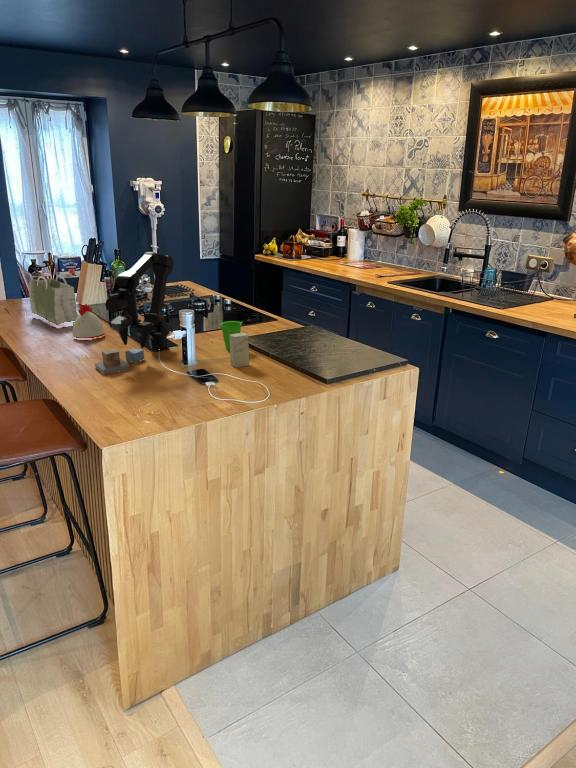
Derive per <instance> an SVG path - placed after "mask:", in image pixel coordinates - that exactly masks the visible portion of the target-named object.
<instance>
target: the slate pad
mask: <svg viewBox="0 0 576 768" xmlns="http://www.w3.org/2000/svg"><path fill="white" fill-rule="evenodd" d="M130 366H131V365H130V364H129V363H128V362H127V361H125V360H123V358H121V357H120V365H115V366H110V367H107V366H106V365H104V364H103V361H99V362H95V363H94V368H95V367H96V368H97V369H98V370H99V371H100V372H99V371H98V370H97V369H96V368H95V369H96V370H97V371H98V372H99V373H100V374H102V373H103V374H107V375H109V374H108V373H111V374H114V373H113V372H116V373H119V372H118V371H121V372H125V371H124V370H126V371H130V370H131V369H130V368H131V367H130ZM103 374H102V375H103Z"/></svg>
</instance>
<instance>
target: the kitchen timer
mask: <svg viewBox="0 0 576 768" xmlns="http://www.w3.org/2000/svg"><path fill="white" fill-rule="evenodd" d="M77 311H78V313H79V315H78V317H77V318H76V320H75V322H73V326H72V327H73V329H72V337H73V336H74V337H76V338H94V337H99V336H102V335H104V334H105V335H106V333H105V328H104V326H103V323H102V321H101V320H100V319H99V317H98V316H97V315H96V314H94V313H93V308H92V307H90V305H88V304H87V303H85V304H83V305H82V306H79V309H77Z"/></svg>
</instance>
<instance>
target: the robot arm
mask: <svg viewBox="0 0 576 768" xmlns="http://www.w3.org/2000/svg"><path fill="white" fill-rule="evenodd" d="M174 264H175V261H174V259H173V258H172V256H170V255H163V254H160V253H158V252H155V251H146V252H144V254H143V256H142V257H140V259H139V260H138V261H137V262H136V263H135V264H134V265H133V266H132V267H131V268H129V269H128V270H126V271H122V272H121V273H120V274H118V275H117V276H116V278H115V281H114V283H113V288H112V291H111V294H109V295H108V298H107V299H106V301H105V308H106V309H105V310H107V312H108V313H110V314H116V313H119V315H118V316H117V317H115V318H114V319H113V318H112V319H111V320H110V321H109V328H111V329H112V330H114V332H116V333H118V335H119V337H120V338H121V341H122V343H123V345H125V346H126V345H128V336H129V334H128V333H129V328H131V329H135V330H136V335H137V336H138V338H139V344H140V347H141V349H144V348H145V345H146V343H147V341H149V342H148V343H149V345H148V346H149V347H150V348H151V349H150V348H149V349H150V350H152V351H153V352H159V351H158V350H159V349H161V350H160V351H164V349H165V350H168V349H170V347H169V346H168V338H167V337H168V336H169V335H170V332H171V328H169V326H168V325H167V324H166V317H165V315H164V313H163V310H164V305H165V304H164V303H165V296H166V287H167V283H168V281H167V280H168V277H169V276H170V275H171V274H172V272H173V268H174ZM150 268H151V270H152V272H153V275H154V281H153V286H152V296H151V301H150V310H148V311H147V312H146V313H144V315H143V321H142V318H141V319H140V318H139V313H140V312H141V309H140V308H138V301H137V295H139V293H140V292H139V291H138V290H136V289H137V288H138V286H139V285H140V281H141V280H140V279H141V278H142V277H143V276H144V275H145V274H146V272H147V271H149V269H150ZM148 337H149V338H148Z"/></svg>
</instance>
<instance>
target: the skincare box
mask: <svg viewBox="0 0 576 768" xmlns="http://www.w3.org/2000/svg"><path fill="white" fill-rule="evenodd" d="M229 337H230V351H229V353H230V354H229V355H230V356H229V358H230V365H231V366H232V367H233V368H241V367H248V366H250V355H249V352H250V350H249V349H250V347H249V334H248V333H245V332H240V333H237V334H230V335H229Z"/></svg>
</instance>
